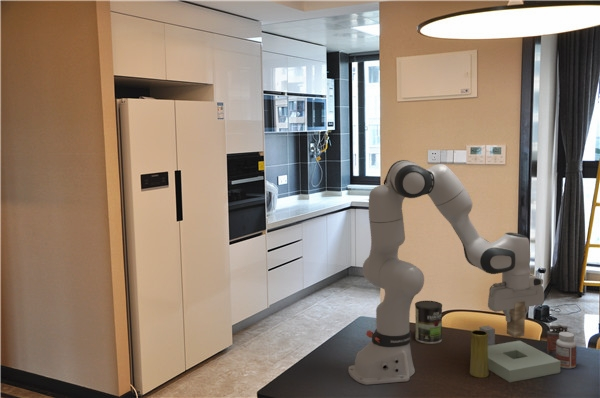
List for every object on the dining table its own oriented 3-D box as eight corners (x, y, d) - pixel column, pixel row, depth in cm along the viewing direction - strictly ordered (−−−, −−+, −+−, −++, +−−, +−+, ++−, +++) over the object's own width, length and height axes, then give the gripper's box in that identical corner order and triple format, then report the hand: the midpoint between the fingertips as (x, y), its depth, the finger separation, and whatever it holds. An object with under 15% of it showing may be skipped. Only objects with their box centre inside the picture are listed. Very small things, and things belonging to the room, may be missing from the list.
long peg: (514, 337, 189) (515, 303, 187) (506, 333, 193) (507, 299, 191) (524, 335, 190) (525, 301, 189) (516, 331, 194) (517, 298, 192)
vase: (465, 372, 189) (465, 331, 187) (480, 368, 191) (480, 328, 190) (478, 379, 183) (478, 337, 182) (492, 375, 186) (493, 333, 184)
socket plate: (509, 382, 180) (509, 370, 180) (472, 359, 199) (472, 348, 199) (560, 372, 186) (560, 361, 186) (519, 351, 205) (519, 340, 205)
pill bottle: (570, 361, 195) (571, 330, 194) (579, 368, 189) (580, 336, 188) (552, 362, 195) (553, 331, 194) (561, 369, 189) (562, 337, 187)
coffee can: (447, 341, 217) (447, 305, 215) (425, 345, 213) (425, 309, 212) (431, 332, 227) (431, 298, 225) (410, 337, 223) (409, 302, 221)
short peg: (485, 345, 211) (485, 330, 211) (479, 342, 215) (479, 327, 214) (494, 344, 213) (494, 328, 212) (488, 340, 216) (488, 325, 216)
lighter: (568, 350, 204) (569, 323, 203) (572, 354, 201) (572, 327, 200) (545, 350, 205) (545, 323, 204) (548, 353, 202) (549, 327, 201)
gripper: (495, 286, 183) (495, 327, 185) (547, 279, 189) (546, 318, 191) (483, 281, 189) (483, 321, 191) (534, 274, 195) (533, 313, 197)
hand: (515, 320), depth 191 cm, fingers closed on long peg, 4 cm apart
